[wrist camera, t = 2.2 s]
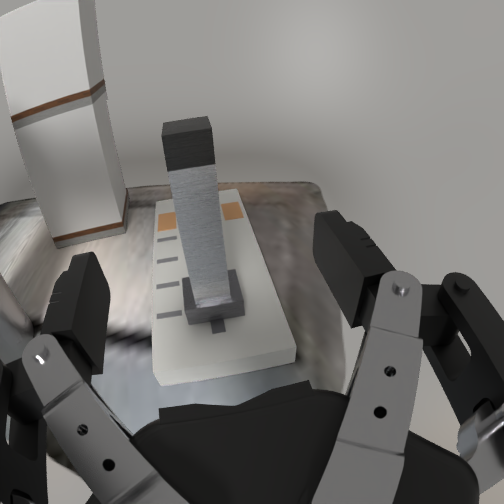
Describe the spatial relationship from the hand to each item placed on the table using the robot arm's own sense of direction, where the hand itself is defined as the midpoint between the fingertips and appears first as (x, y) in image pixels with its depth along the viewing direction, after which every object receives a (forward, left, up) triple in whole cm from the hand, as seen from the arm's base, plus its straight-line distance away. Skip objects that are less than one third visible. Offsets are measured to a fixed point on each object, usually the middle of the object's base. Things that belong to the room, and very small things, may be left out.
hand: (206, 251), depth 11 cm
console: (0, +19, -18) cm, 26 cm away
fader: (0, +11, -15) cm, 19 cm away
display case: (-17, +35, -18) cm, 43 cm away
